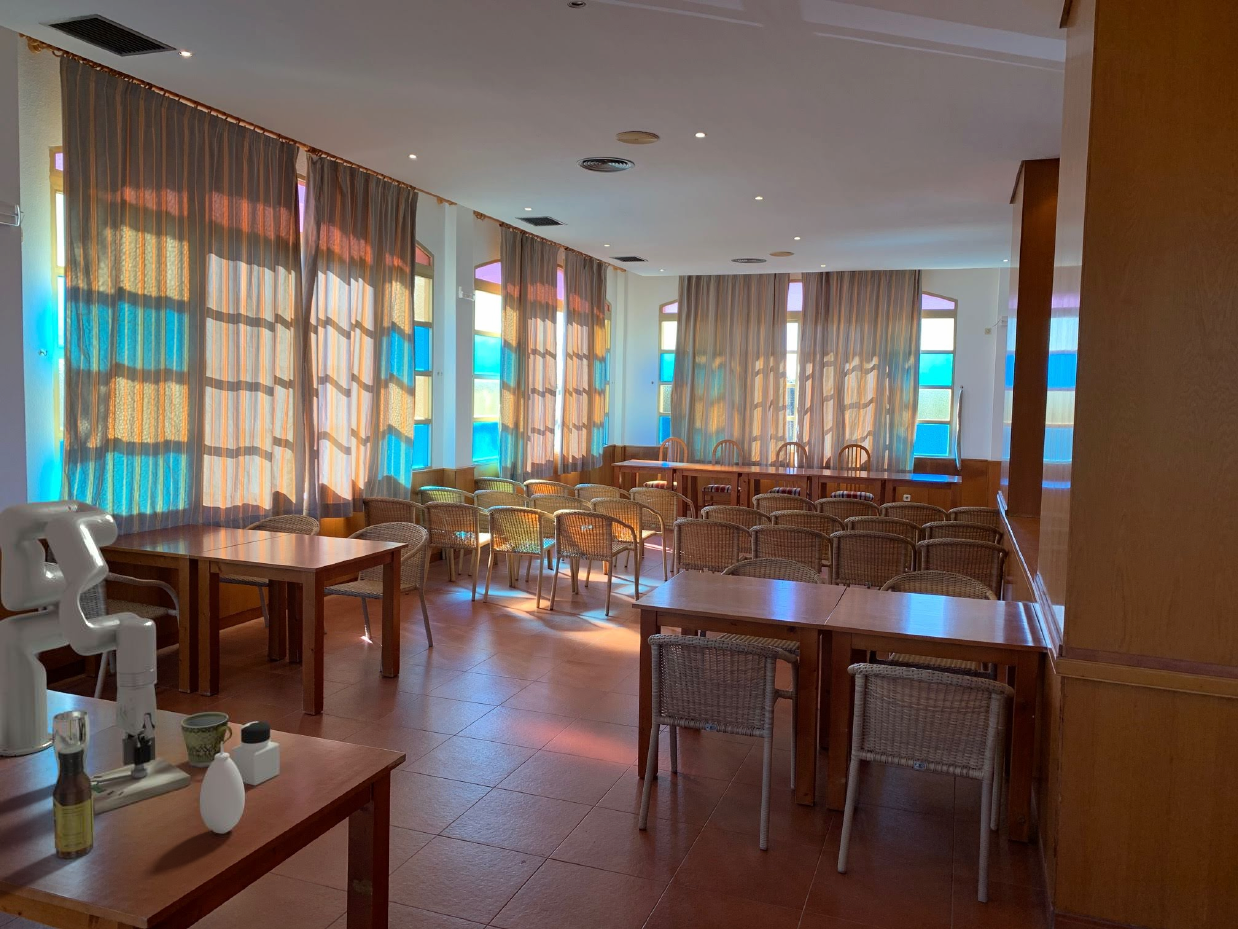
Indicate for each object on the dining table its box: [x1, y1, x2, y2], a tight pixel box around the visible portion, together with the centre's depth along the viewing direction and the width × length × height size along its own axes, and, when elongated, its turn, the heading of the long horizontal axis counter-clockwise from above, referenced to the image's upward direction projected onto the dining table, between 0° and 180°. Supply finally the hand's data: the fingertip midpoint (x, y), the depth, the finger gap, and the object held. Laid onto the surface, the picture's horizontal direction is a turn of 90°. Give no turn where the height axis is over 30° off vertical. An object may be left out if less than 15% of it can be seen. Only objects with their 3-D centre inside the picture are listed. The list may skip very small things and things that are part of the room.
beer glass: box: [51, 709, 91, 783], centre depth 196 cm, size 7×7×15 cm
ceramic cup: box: [180, 711, 233, 768], centre depth 208 cm, size 13×10×10 cm
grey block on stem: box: [97, 734, 156, 784], centre depth 194 cm, size 3×11×8 cm, turn 125°
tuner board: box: [89, 756, 191, 815], centre depth 194 cm, size 15×19×2 cm
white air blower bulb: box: [199, 741, 246, 835], centre depth 176 cm, size 8×8×18 cm
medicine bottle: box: [231, 720, 280, 787], centre depth 201 cm, size 7×7×12 cm
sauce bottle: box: [52, 745, 95, 859], centre depth 167 cm, size 7×6×20 cm
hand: (138, 760), depth 195 cm, fingers closed on grey block on stem, 3 cm apart
